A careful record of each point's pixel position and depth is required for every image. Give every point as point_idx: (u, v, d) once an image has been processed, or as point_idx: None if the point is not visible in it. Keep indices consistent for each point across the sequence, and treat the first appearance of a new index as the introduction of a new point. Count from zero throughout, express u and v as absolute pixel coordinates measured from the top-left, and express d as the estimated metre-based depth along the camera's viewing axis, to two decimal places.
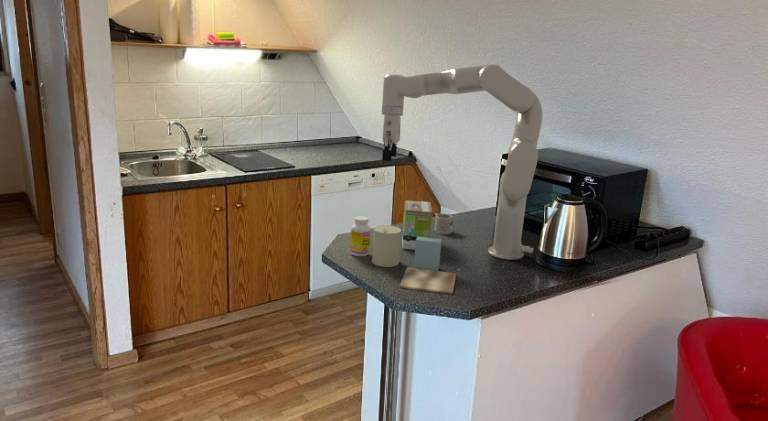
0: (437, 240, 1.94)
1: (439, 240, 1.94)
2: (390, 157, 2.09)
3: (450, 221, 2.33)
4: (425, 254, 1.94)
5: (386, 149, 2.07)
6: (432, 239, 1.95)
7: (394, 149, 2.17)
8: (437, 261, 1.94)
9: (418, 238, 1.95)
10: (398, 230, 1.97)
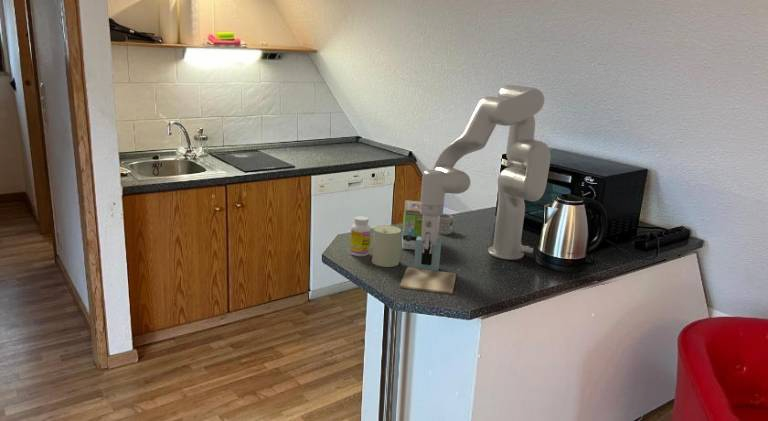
0: (437, 240, 1.94)
1: (439, 240, 1.94)
2: (430, 261, 1.94)
3: (450, 221, 2.33)
4: None
5: (426, 253, 1.92)
6: None
7: None
8: (437, 261, 1.94)
9: (418, 238, 1.95)
10: (398, 230, 1.97)
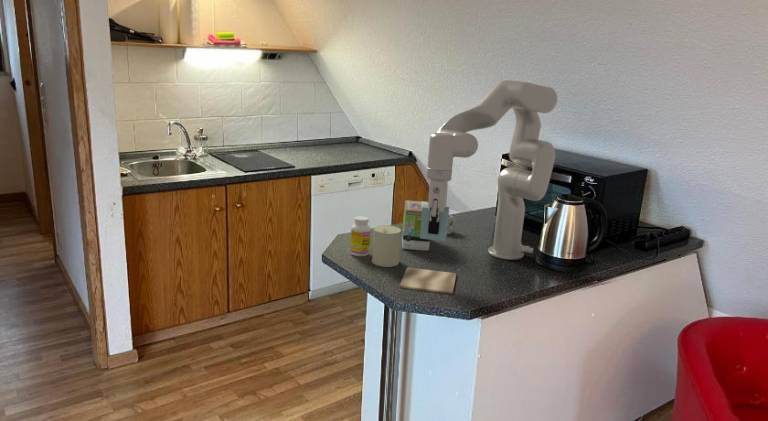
0: (445, 208, 1.83)
1: (447, 208, 1.84)
2: (437, 230, 1.83)
3: (450, 221, 2.33)
4: None
5: (433, 221, 1.82)
6: None
7: None
8: (444, 230, 1.83)
9: (424, 206, 1.84)
10: (398, 230, 1.97)
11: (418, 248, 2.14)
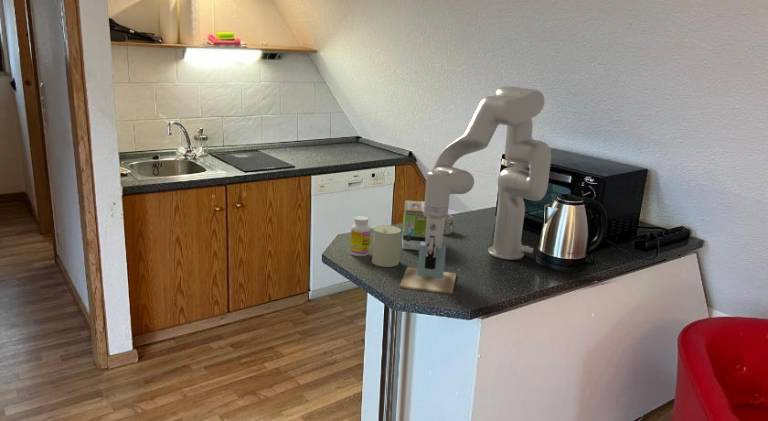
0: None
1: (444, 245, 1.87)
2: (434, 265, 1.84)
3: (450, 221, 2.33)
4: None
5: (430, 257, 1.83)
6: None
7: None
8: (441, 267, 1.87)
9: (422, 243, 1.88)
10: (398, 230, 1.97)
11: (418, 248, 2.14)
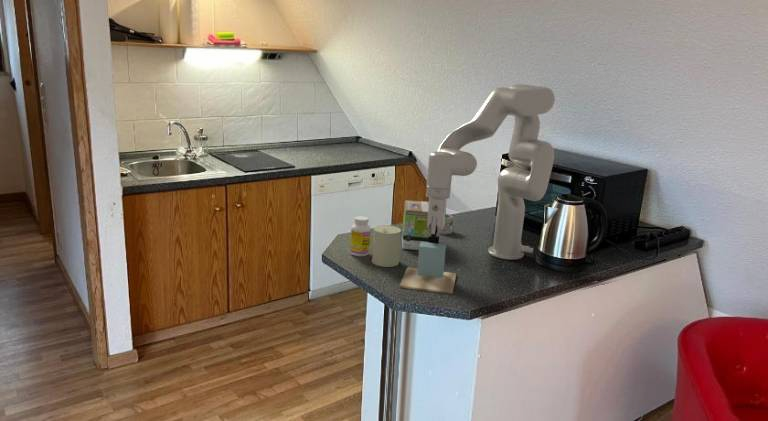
0: (441, 246, 1.86)
1: (443, 246, 1.86)
2: None
3: (450, 221, 2.33)
4: (429, 260, 1.86)
5: (433, 236, 1.88)
6: (436, 245, 1.87)
7: None
8: (441, 268, 1.86)
9: (421, 244, 1.87)
10: (398, 230, 1.97)
11: (418, 248, 2.14)
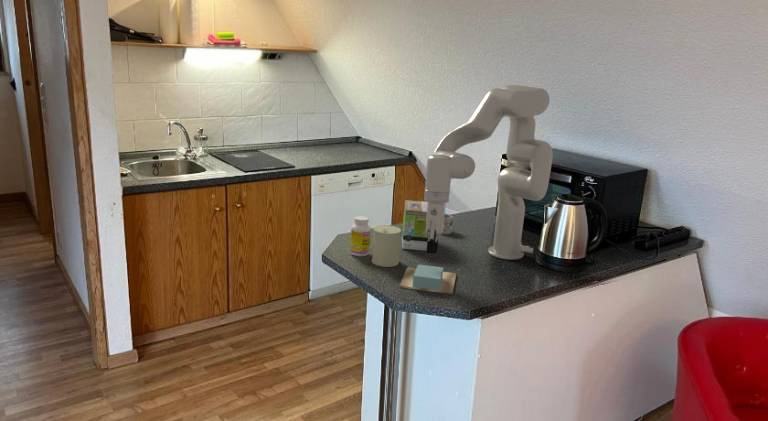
0: (435, 283, 1.78)
1: (437, 283, 1.78)
2: (435, 249, 1.85)
3: (450, 221, 2.33)
4: None
5: (431, 241, 1.83)
6: (430, 281, 1.78)
7: None
8: None
9: (414, 281, 1.79)
10: (398, 230, 1.97)
11: (418, 248, 2.14)
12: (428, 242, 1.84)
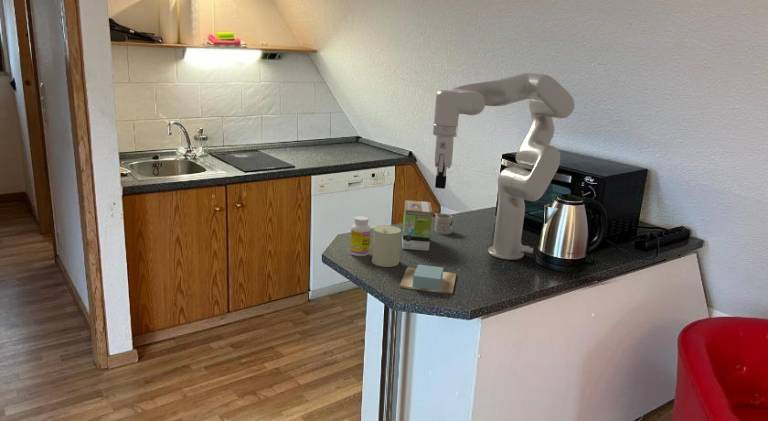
0: (435, 283, 1.78)
1: (437, 283, 1.78)
2: (444, 184, 1.90)
3: (450, 221, 2.33)
4: None
5: (440, 175, 1.89)
6: (430, 281, 1.78)
7: None
8: None
9: (414, 281, 1.79)
10: (398, 230, 1.97)
11: (418, 248, 2.14)
12: (437, 177, 1.90)
